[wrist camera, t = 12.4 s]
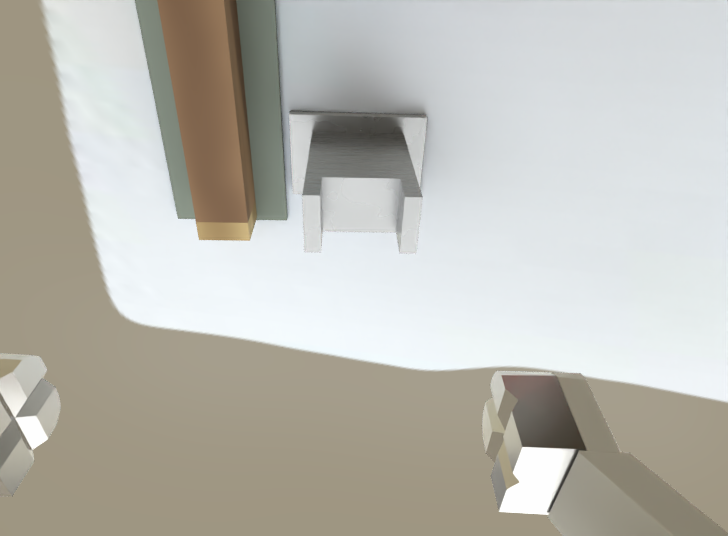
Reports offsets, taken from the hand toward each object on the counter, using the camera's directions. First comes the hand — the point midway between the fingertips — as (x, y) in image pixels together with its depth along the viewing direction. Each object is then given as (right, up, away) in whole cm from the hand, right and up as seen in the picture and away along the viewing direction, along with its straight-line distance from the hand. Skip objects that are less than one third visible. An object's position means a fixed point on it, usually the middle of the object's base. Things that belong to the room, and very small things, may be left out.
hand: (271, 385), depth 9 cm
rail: (-6, +14, +17) cm, 23 cm away
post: (+1, +9, +21) cm, 23 cm away
